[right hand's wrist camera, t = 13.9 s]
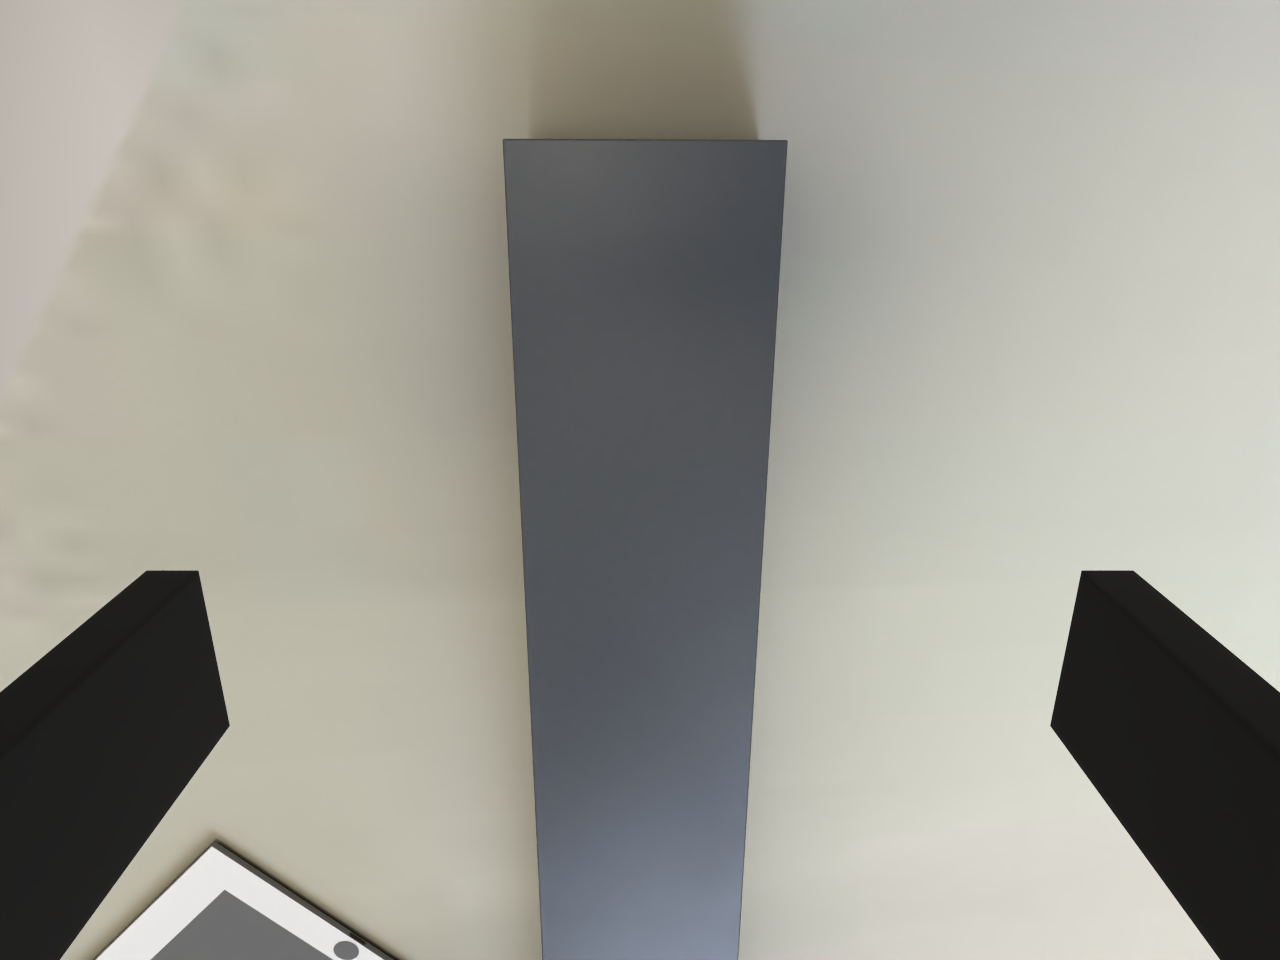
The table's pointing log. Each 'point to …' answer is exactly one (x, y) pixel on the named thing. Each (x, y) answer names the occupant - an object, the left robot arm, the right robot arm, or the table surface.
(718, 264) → the wide beam
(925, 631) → the table surface
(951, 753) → the table surface
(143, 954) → the tablet
